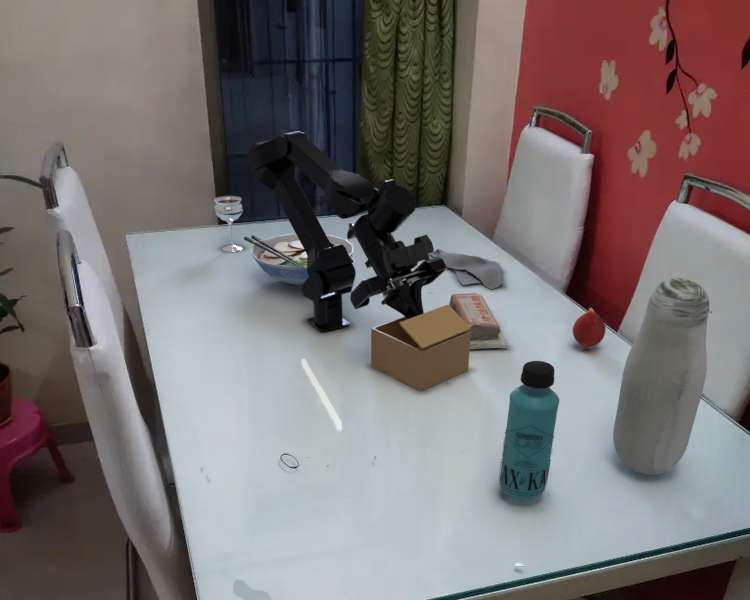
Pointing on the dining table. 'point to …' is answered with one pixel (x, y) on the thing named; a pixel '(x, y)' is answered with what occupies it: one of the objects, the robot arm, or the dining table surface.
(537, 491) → the beverage bottle
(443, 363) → the carton
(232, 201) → the wineglass
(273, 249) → the ramen bowl
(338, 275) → the robot arm
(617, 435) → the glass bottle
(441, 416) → the dining table surface
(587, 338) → the onion
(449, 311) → the flap
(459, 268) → the cloth
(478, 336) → the packaged product
